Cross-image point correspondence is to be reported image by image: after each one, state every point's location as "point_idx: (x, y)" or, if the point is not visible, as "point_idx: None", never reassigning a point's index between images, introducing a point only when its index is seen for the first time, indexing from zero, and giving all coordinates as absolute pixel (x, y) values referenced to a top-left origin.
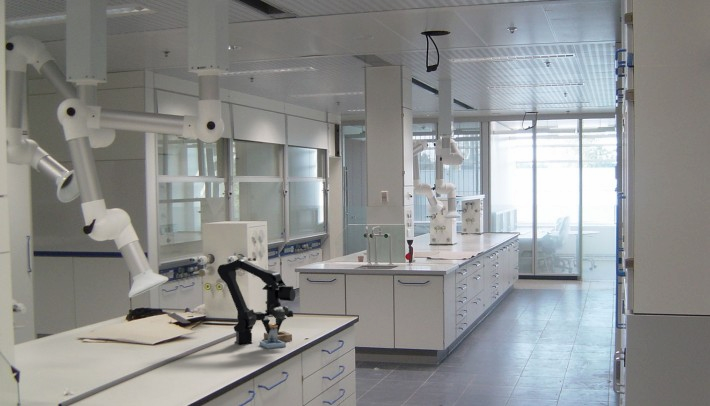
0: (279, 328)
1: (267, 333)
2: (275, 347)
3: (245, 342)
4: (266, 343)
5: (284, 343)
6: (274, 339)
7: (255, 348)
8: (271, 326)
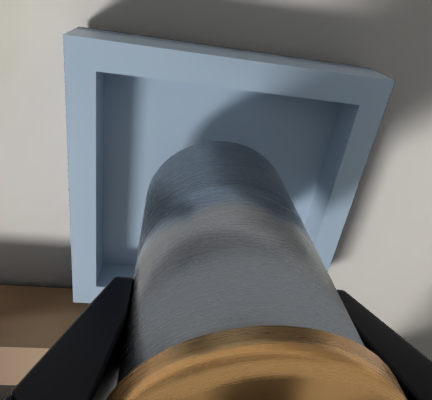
0: (65, 333)
1: None
2: (257, 52)
3: None
4: None
5: (90, 37)
6: (237, 164)
7: (418, 206)
8: (398, 386)
